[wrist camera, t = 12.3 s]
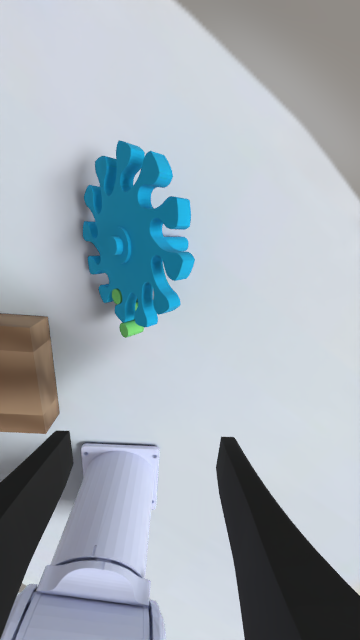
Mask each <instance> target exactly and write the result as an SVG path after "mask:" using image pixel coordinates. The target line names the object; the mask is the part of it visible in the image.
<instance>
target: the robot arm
mask: <svg viewBox="0 0 360 640" xmlns="http://www.w3.org/2000/svg"><path fill="white" fill-rule="evenodd" d="M159 451H160V450H159V448H158V447H156V446H136V445H112V444H89V443H86V444H83V445H82V447H81V457H82V468H83V481H82V484H81V486H80V489H79V492H78V494H77V497H76V499H75V502H74V505H73V507H72V510H71V513H70V515H69V518H68V520H67V523H66V526H65V528H64V531H63V533H62V536H61V539H60V541H59V544H58V546H57V549H56V552H55V554H54V557H53V559H52V562H51V565H47V566H46V567H45V570H44V572H43V575H42V577H41V580H40V582H39V585H38V587H37V584H29V585H27V586H26V588H25V589H24V590H23V591H22V592H21V593H19V594H18V591H19V588H20V586H21V584H22V581H23V578H24V576H25V573H26V571H27V568H28V566H29V563H30V561H31V559H32V557H33V554H34V552H35V550H36V548H37V546H38V543H39V541H40V539H41V537H42V535H43V533H44V531H45V529H46V527H47V524H48V522H49V520H50V518H51V516H52V514H53V512H54V510H55V508H56V505H57V503H58V501H59V499H60V497H61V495H62V492H63V490H64V488H65V485H66V483H67V480H68V477H69V474H70V471H71V468H72V466H73V456H72V448H71V440H70V432H69V431H55V432H54V433H53V434H52V435H51V436H50V437H49V438H48V439H47V440H46V441H45V442H44V443H43V444H41V445H40V446H39V447H38V448H37V449H36V450H35V451H34V452H33V453H32V454H31V455H30V456H29V457H28V458H27V459H26V460H25V461H24V462H22V463H21V464H20V465H19V466H18V467H17V468H16V469H15V470H14V471H13V472H12V473H11V474H9V475H8V476H7V477H6V478H5V479H4V480H3V481H2V482H0V640H166V631H165V624H164V619H163V617H162V614H161V612H160V609H159V606H158V604H157V602H156V601H154V600H149V598H150V584H151V581H150V580H147V579H145V573H146V562H147V551H148V539H149V528H150V517H151V510H154V509H155V508H156V498H157V482H158V467H159ZM216 471H217V480H218V488H219V494H220V499H221V504H222V509H223V513H224V518H225V523H226V527H227V532H228V537H229V541H230V546H231V550H232V555H233V561H234V566H235V572H236V579H237V586H238V593H239V600H240V607H241V614H242V622H243V629H244V637H245V640H360V596H359V595H358V594H357V593H356V592H355V591H354V590H353V589H352V588H351V587H350V586H349V585H348V584H347V583H346V582H345V581H344V579H343V578H342V577H341V576H340V575H339V574H338V573H337V572H336V571H335V570H334V569H333V568H332V567H331V566H330V564H329V563H328V562H327V561H326V560H325V559H324V558H323V557H322V556H321V555H320V554H319V553H318V552H317V551H316V549H315V548H314V547H313V546H312V545H311V544H310V543H309V541H308V540H307V539H306V538H305V537H304V536H303V534H302V533H301V532H300V531H299V530H298V528H297V527H296V526H295V525H294V524H293V522H292V521H291V520H290V519H289V517H288V516H287V515H286V514H285V512H284V511H283V510H282V508H281V507H280V506H279V504H278V503H277V502H276V500H275V499H274V498H273V496H272V495H271V494H270V492H269V491H268V489H267V488H266V487H265V485H264V484H263V482H262V481H261V479H260V478H259V476H258V475H257V473H256V472H255V470H254V469H253V467H252V466H251V464H250V462H249V461H248V459H247V458H246V456H245V454H244V453H243V451H242V449H241V448H240V446H239V444H238V442H237V441H236V439H235V438H234V437H221V442H220V448H219V453H218V459H217V465H216ZM17 594H18V595H17Z"/></svg>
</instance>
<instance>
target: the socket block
mask: <svg viewBox="0 0 360 640" xmlns="http://www.w3.org/2000/svg"><path fill="white" fill-rule="evenodd" d="M58 415H59V404H58V396H57V388H56V380H55V372H54V364H53V356H52V348H51V339H50V331H49V323H48V317H44V316H29V315H14V314H0V432H18V433H41V434H46V433H47V431H48V430H49V428H50V427H51V425H52V424H53V422H54V421H55V419H56V418H57V416H58Z"/></svg>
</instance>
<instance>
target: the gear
mask: <svg viewBox="0 0 360 640" xmlns="http://www.w3.org/2000/svg"><path fill="white" fill-rule="evenodd" d="M144 156H145V157H144ZM116 158H117V159H113V158H110V157H106V156H101V157H99V158H98V159H97V160H96V161H95V170H96V174H97V177H98V179H99V183H100V187H98V186H92V185H89V186H88V187H87V189H86V192H85V195H84V200H85V203H86V205H87V207H89V209H90V210H91V212H92V213H93V216H94V218H95V222H88V221H84V224H83V238H84V239H85V240H86V241H90V242H92V243H93V244H94V245H95V247H96V248H97V250H98V251H99V253H100V256H89V257H88V265H89V270H90V273H91V274H101V273H106V274H107V275H108V278H109V284H105V285H100V286H99V293H100V295H101V298H102V300H103V302H104V303H107V302H112V301H114V302H115V303H116V304H117V305H116V306H115V313H116V315H117V317H118V318H119V319H120V320H121V321H122V322H123V323H121V324H120V332H121V334H122V336H123V337H125V338H126V337H129V336H132V335H135V334H138V333H141V332H143V330H144V327H149V326H152V325H155V324H157V322H158V317H157V314H163V313H166V312H170V311H173V310H175V309H176V308H177V307H179V306H180V299H179V297H178V295H177V294H176V293H175V292H174V291H173V290H172V288H171V287H170V285H169V284H168V282H167V279H166V277H165V273H164V269H163V263H164V267H165V271H166V273H167V275H168V277H169V278H170V279H172V280H174V281H176V280H181V279H187V277H188V276H189V274H190V273H191V270H192V267H193V264H194V261H195V259H194V257H193V256H192V254H190V253H189V252H181V251H186V250H187V248H188V240H187V239H186V238H185V237H164V236H163V234H162V225H163V224H164V225H165V226H166V227H167V228H169V229H187V228H188V227H189V226H190V221H191V210H190V200H188V199H184V198H179V197H172V196H171V197H168V198H167V199H166V200H165V201H164V203H163V204H161V205H160V206H159V207H157V208H155V209H154V208H153V207H152V205H151V193H152V191H153V189H154V188H156V187H162V188H163V187H167V186H168V185H169V184H170V182H171V180H172V177H173V174H172V170H171V167H170V165H169V163H168V161H167V159H166V158H165V156H164V155H161V154H158V153H155V152H152V151H149V152H148V153H147V154H146V155H144V151H143V150H142V149H141V148H140V147H138V146H135V145H132V144H129V143H126V142H123V141H118V144H117V149H116ZM140 169H141V172H140V175H139V177H138V179H137V181H136V183H135V184H134V186H133V179H134V176H135V175H136V173H137V172H138V171H139V170H140Z"/></svg>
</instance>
